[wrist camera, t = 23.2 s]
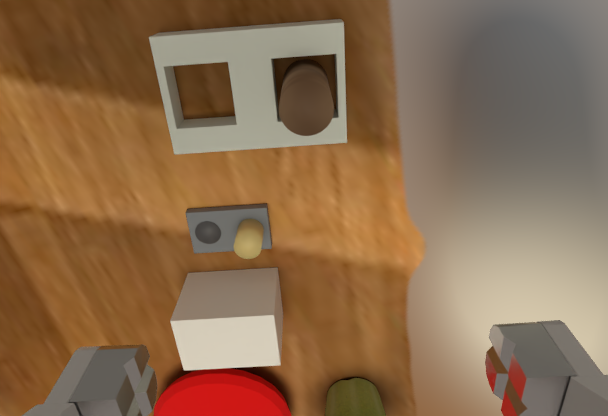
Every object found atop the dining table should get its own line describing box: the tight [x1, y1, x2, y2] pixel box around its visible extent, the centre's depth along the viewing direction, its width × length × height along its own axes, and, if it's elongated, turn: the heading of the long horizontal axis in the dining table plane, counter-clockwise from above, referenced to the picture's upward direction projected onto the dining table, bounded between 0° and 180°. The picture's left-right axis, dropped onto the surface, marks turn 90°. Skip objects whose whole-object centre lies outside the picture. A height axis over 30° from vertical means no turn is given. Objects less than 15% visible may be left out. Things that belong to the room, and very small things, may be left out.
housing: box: [170, 267, 283, 371], centre depth 43 cm, size 9×6×7 cm, turn 94°
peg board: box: [149, 19, 347, 155], centre depth 35 cm, size 14×9×2 cm, turn 94°
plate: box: [186, 204, 272, 259], centre depth 41 cm, size 7×4×4 cm, turn 94°
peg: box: [279, 59, 334, 136], centre depth 33 cm, size 4×4×8 cm
